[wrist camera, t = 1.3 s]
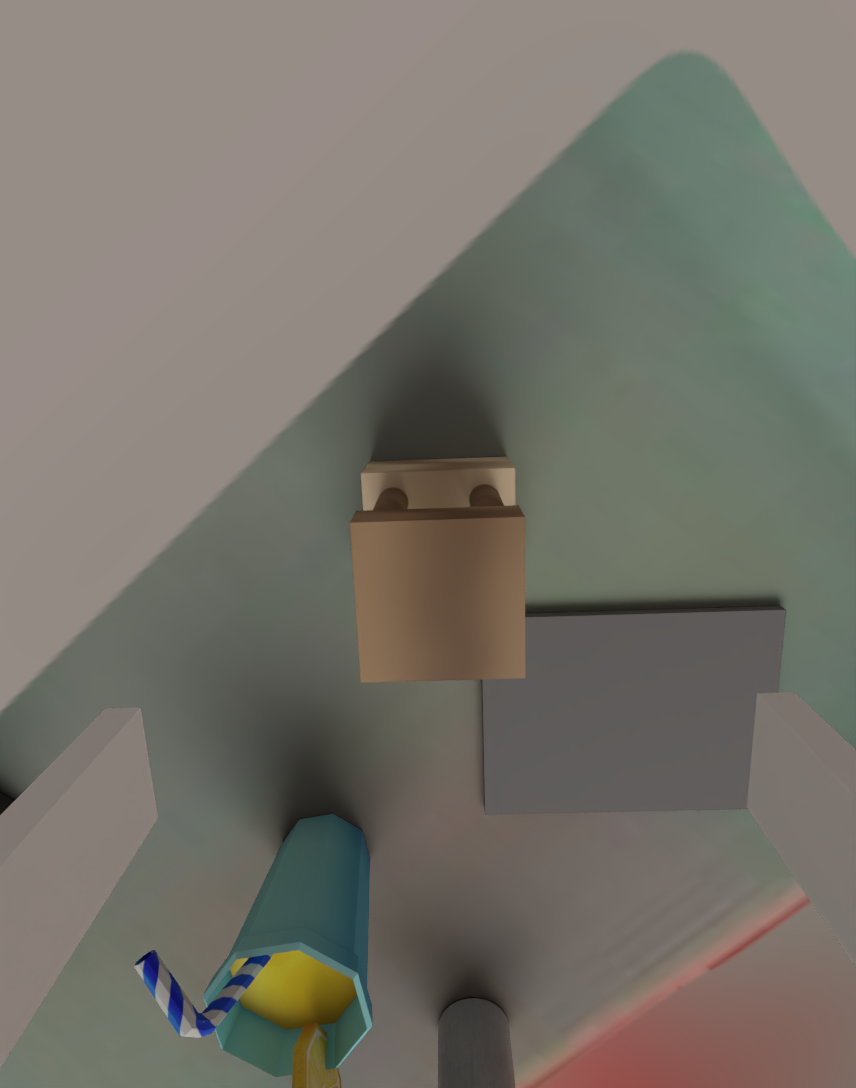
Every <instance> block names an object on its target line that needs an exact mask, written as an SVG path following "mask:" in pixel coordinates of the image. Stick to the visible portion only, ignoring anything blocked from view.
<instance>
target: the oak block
mask: <svg viewBox="0 0 856 1088" xmlns="http://www.w3.org/2000/svg"><path fill="white" fill-rule="evenodd" d="M361 483H362V499H363V511H366V510H373V508H374V506H375V504H376V502H377V500H378V498H379V496H380V494H381V493H382V492H383V491H384V490H385V489H388V488H398V489H400V490H402V491H403V492H404V493H405V494H406V496H407V498H408V508H407V509H425V508H454V507H470V502H469V498H470V494H471V492H472V490H473V489H474V488H476V487H477V486H479V485H483V484H487V485H491V486H493V487H494V488H495V489H496V490H497V491H498V493H499V495H500V497H501V499H502V502H503V504H504V506H513V505H515V467H514V466H513V464H512V463H511V462H510V460H509V459H508V457H482V458H454V459H426V460H399V461H371V462H369V463H368V465H367V466H366V467H365V469H364V470H363V471H362V473H361Z"/></svg>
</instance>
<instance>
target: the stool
mask: <svg viewBox="0 0 856 1088" xmlns="http://www.w3.org/2000/svg"><path fill="white" fill-rule="evenodd" d="M469 502H470V507H454V508H425V509H407V508H408V498H407V496H406V494H405V493H404V492H403V491H402V490H400V489H398V488H388V489H385V490H384V491H383V492H382V493H381V494H380V496H379V498H378V500H377V502H376V504H375V506H374V508H373V510H366V511H356V513H355V515H354V516H353V518H352V520H351V522H350V532H351V546H352V561H353V576H354V590H355V605H356V619H357V634H358V648H359V663H360V677H361V683H365V682H402V681H439V680H477V679H514V678H525V516H524V514H523V513H522V511H521V509H520V507H519V505H513V506H504V504H503V502H502V499H501V497H500V495H499V493H498V491H497V490H496V489H495V488H494V487H493V486H491V485H487V484H483V485H479V486H477V487H476V488H474V489H473V490H472V492H471V494H470V498H469Z"/></svg>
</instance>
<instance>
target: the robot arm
mask: <svg viewBox="0 0 856 1088" xmlns="http://www.w3.org/2000/svg"><path fill="white" fill-rule="evenodd" d="M747 809H748V810H749V812H750V813H751V815H752V816H753V818H754V819H755V821H756V822H757V824H758V825H759V826H760V828H761V829H762V831H763V832H764V834H765V835H766V837H767V838H768V840H769V841H770V843H771V844H772V845H773V847H774V848H775V850H776V851H777V853H778V854H779V856H780V857H781V859H782V860H783V862H784V863H785V865H786V866H787V867H788V869H789V870H790V872H791V873H792V875H793V876H794V878H795V879H796V881H797V882H798V884H799V885H800V886H801V888H802V889H803V891H804V892H805V894H806V895H807V897H808V898H809V900H810V901H811V903H812V904H813V906H814V907H815V908H816V910H817V911H818V913H819V914H820V916H821V917H822V919H823V920H824V922H825V923H826V925H827V926H828V928H829V929H830V930H831V932H832V933H833V935H834V936H835V938H836V939H837V941H838V942H839V944H840V945H841V946H842V948H843V949H844V951H845V952H846V954H847V955H848V957H849V958H850V960H851V961H852V963H853V964H854V965H855V967H856V750H855V749H854V748H853V747H852V746H851V745H850V744H849V743H848V742H847V741H846V740H844V739H843V738H842V737H841V736H840V735H839V734H838V733H837V732H836V731H835V730H834V729H833V728H832V727H831V726H829V725H828V724H827V723H826V722H825V721H824V720H823V719H822V718H821V717H820V716H819V715H818V714H817V713H816V712H815V711H813V710H812V709H811V708H810V707H809V706H808V705H807V704H806V703H805V702H804V701H803V700H802V699H801V698H800V697H799V696H797V695H796V694H795V693H794V692H793V693H757V700H756V711H755V722H754V733H753V744H752V755H751V766H750V777H749V788H748V799H747ZM157 819H158V816H157V809H156V803H155V797H154V790H153V784H152V778H151V771H150V765H149V759H148V752H147V746H146V740H145V733H144V727H143V721H142V714H141V708H106V709H105V710H104V711H103V712H102V713H101V714H100V715H99V716H98V717H97V718H96V719H95V720H94V721H93V722H92V723H91V724H90V725H89V726H88V727H87V728H86V729H85V730H84V731H83V732H82V733H81V734H80V735H79V736H78V737H77V738H76V739H75V740H74V741H73V742H72V743H71V744H70V745H69V746H68V747H67V748H66V749H65V750H64V751H63V752H62V753H61V754H60V755H59V756H58V757H57V758H56V759H55V760H54V761H53V762H52V763H51V764H50V765H49V766H48V767H47V768H46V769H45V770H44V771H43V772H42V774H41V775H40V776H39V777H38V778H37V779H36V780H35V781H34V782H33V783H32V784H31V785H30V786H29V787H28V788H27V789H26V790H25V791H24V792H23V793H22V794H21V795H20V796H19V797H18V798H17V799H16V800H15V801H13V800H12V799H10V798H9V797H7V796H6V795H4V794H2V793H1V792H0V1068H1V1066H2V1065H3V1063H4V1061H5V1060H6V1058H7V1057H8V1055H9V1053H10V1052H11V1050H12V1049H13V1047H14V1046H15V1044H16V1042H17V1041H18V1039H19V1038H20V1036H21V1034H22V1033H23V1031H24V1030H25V1028H26V1027H27V1025H28V1023H29V1022H30V1020H31V1019H32V1017H33V1015H34V1014H35V1012H36V1011H37V1009H38V1008H39V1006H40V1004H41V1003H42V1001H43V1000H44V998H45V996H46V995H47V993H48V992H49V990H50V988H51V987H52V985H53V984H54V982H55V981H56V979H57V977H58V976H59V974H60V973H61V971H62V969H63V968H64V966H65V965H66V963H67V962H68V960H69V958H70V957H71V955H72V954H73V952H74V950H75V949H76V947H77V946H78V944H79V943H80V941H81V939H82V938H83V936H84V935H85V933H86V931H87V930H88V928H89V927H90V925H91V924H92V922H93V920H94V919H95V917H96V916H97V914H98V912H99V911H100V909H101V908H102V906H103V905H104V903H105V901H106V900H107V898H108V897H109V895H110V893H111V892H112V890H113V889H114V887H115V886H116V884H117V882H118V881H119V879H120V878H121V876H122V874H123V873H124V871H125V870H126V868H127V867H128V865H129V863H130V862H131V860H132V859H133V857H134V855H135V854H136V852H137V851H138V849H139V848H140V846H141V844H142V843H143V841H144V840H145V838H146V836H147V835H148V833H149V832H150V830H151V828H152V827H153V825H154V824H155V822H156V821H157Z"/></svg>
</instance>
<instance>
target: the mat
mask: <svg viewBox="0 0 856 1088" xmlns="http://www.w3.org/2000/svg"><path fill="white" fill-rule="evenodd" d="M785 617H786V609H784V608H783V607H782V606H760V607H727V608H693V609H659V610H625V611H591V612H557V613H525V678H514V679H482V706H483V755H484V804H485V815H491V814H538V813H585V812H632V811H678V810H725V809H747V799H748V788H749V777H750V766H751V755H752V744H753V733H754V722H755V711H756V700H757V693H778V688H779V678H780V668H781V657H782V647H783V637H784V627H785Z"/></svg>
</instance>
